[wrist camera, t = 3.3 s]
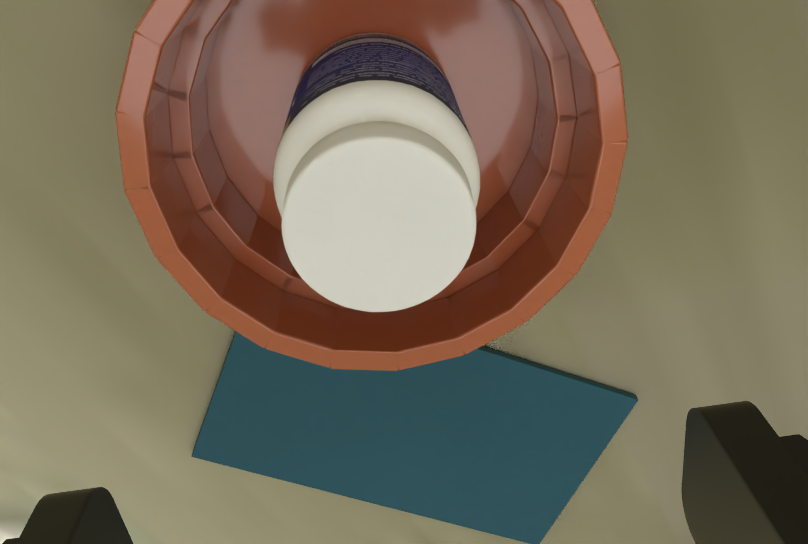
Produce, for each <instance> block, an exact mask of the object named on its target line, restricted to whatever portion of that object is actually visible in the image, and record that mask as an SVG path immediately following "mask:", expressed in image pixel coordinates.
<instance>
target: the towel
mask: <svg viewBox="0 0 808 544" xmlns="http://www.w3.org/2000/svg"><path fill="white" fill-rule="evenodd" d="M637 401H638V399H637V397H636V395H634V394H631V393H628V392H625V391H621V390H618V389H615V388H612V387H609V386H606V385H603V384H600V383H596V382H593V381H590V380H587V379H584V378H581V377H578V376H575V375H571V374H568V373H565V372H562V371H559V370H556V369H553V368H550V367H547V366H543V365H540V364H537V363H534V362H531V361H528V360H525V359H522V358H518V357H515V356H512V355H509V354H506V353H503V352H500V351H497V350H493V349H490V348H487V347H484V346H481V347H479V348H477V349H476V350H474V351H472V352H470V353H468V354H464V355H463V356H460V357H455V358H451V359H447V360H442V361H438V362H433V363H429V364H425V365H420V366H416V367H412V368H407V369H403V370H398V371H383V370H350V369H331V367H330V368H328V367H324V366H321V365H318V364H314V363H311V362H307V361H304V360H301V359H297V358H294V357H291V356H287V355H284V354H281V353H277V352H274V351H270V350H267V349H266V348H262V347H261V346H259V345H257V344H256V343H254V342H253V341H251V340H249V339H248V338H246V337H244V336H243V335H241V334H240V333H238V332H235V334H234V337H233V340H232V343H231V346H230V348H229V351H228V354H227V357H226V360H225V362H224V365H223V368H222V371H221V374H220V377H219V379H218V382H217V385H216V388H215V391H214V393H213V396H212V399H211V402H210V405H209V408H208V410H207V413H206V416H205V419H204V422H203V424H202V427H201V430H200V433H199V436H198V439H197V441H196V444H195V447H194V450H193V453H192V457H195V458H199V459H203V460H207V461H211V462H215V463H218V464H222V465H226V466H230V467H234V468H238V469H242V470H246V471H250V472H253V473H257V474H261V475H265V476H269V477H273V478H277V479H281V480H285V481H289V482H292V483H296V484H300V485H304V486H308V487H312V488H316V489H320V490H324V491H327V492H331V493H335V494H339V495H343V496H347V497H351V498H355V499H359V500H362V501H366V502H370V503H374V504H378V505H382V506H386V507H390V508H394V509H398V510H401V511H405V512H409V513H413V514H417V515H421V516H425V517H429V518H433V519H436V520H440V521H444V522H448V523H452V524H456V525H460V526H464V527H468V528H472V529H475V530H479V531H483V532H487V533H491V534H495V535H499V536H503V537H507V538H510V539H514V540H518V541H522V542H526V543H530V544H540V542H541V541H542V539H543V538H544V536H545V535H546V533H547V532H548V530H549V529H550V528H551V526H552V525H553V523H554V522H555V520H556V519H557V517H558V516H559V514H560V513H561V512H562V510H563V509H564V507H565V506H566V504H567V503H568V501H569V500H570V498H571V497H572V496H573V494H574V493H575V491H576V490H577V488H578V487H579V485H580V484H581V482H582V481H583V480H584V478H585V477H586V475H587V474H588V472H589V471H590V469H591V468H592V466H593V465H594V464H595V462H596V461H597V459H598V458H599V456H600V455H601V453H602V452H603V450H604V449H605V448H606V446H607V445H608V443H609V442H610V440H611V439H612V437H613V436H614V434H615V433H616V432H617V430H618V429H619V427H620V426H621V424H622V423H623V421H624V420H625V418H626V417H627V416H628V414H629V413H630V411H631V410H632V408H633V407H634V405H635V404H636V402H637Z"/></svg>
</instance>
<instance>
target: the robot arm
mask: <svg viewBox="0 0 808 544" xmlns="http://www.w3.org/2000/svg"><path fill="white" fill-rule="evenodd" d="M682 501H683V507H684V512H685V516H686V520H687V523H688V526H689V529H690V532H691V534H692V536H693V539H694V541H695V543H696V544H808V440H807V439H805V438H804V437H802V436H801V435H799V434H798V435H791V436H783V437H779V436H778V435H777V434H776V432H775V431H774V430H773V428H772V427H771V426H770V424H769V423H768V422H767V420H766V419H765V418H764V416H763V415H762V414H761V412H760V411H759V410H758V408H757V407H756V406H755V405H754V404H752V403H751V402H749V401H742V402H735V403H728V404H720V405H713V406H706V407H698V408H692V409H691V410H690V411H689V412H688V415H687V421H686V434H685V449H684V463H683V477H682ZM2 544H133V542H132V540H131V537H130V535H129V533H128V531H127V528H126V526H125V524H124V522H123V520H122V517H121V515H120V513H119V511H118V508H117V506H116V504H115V502H114V500H113V497H112V496H111V494H110V492H109V491H108V490H107V489H105V488H103V487H98V488H90V489H83V490H76V491H68V492H61V493H54V494H48V495H45V496H44V497H43V498H41V500H40V501H39V502H38V504H37V505H36V507H35V509H34V511H33V513H32V514H31V516H30V518H29V520H28V522H27V524H26V526H25V528H24V530H23V532H22V533H21V535H20V537H19V538H14V539H6V540H5V541H4V542H3V543H2Z"/></svg>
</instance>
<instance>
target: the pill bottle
mask: <svg viewBox="0 0 808 544" xmlns="http://www.w3.org/2000/svg"><path fill="white" fill-rule="evenodd" d="M273 184H274V193H275V199H276V203H277V206H278V209H279V212H280V215H281V218H282V225H281V227H282V237H283V242H284V246H285V249H286V252H287V255H288V257H289V259H290V261H291V263H292V265H293V266H294V268H295V270H296V271H297V273H298V274H299V275H300V276H301V278H302V279H303V280H304V281H305V282H306V283H307V284H308V285H309V286H310V287H311V288H312V289H313V290H315V291H316V292H317V293H319V294H320V295H322V296H323V297H325V298H326V299H328V300H330V301H332V302H334V303H337V304H339V305H341V306H344V307H347V308H351V309H355V310H360V311H367V312H390V311H397V310H402V309H406V308H409V307H412V306H415V305H418V304H420V303H422V302H424V301H426V300H428V299H430V298H432V297H434V296H435V295H437V294H438V293H439V292H441V291H442V290H443V289H444V288H446V287H447V286H448V285H449V284H450V283H451V282H452V281H453V280H454V279H455V278H456V277H457V275H458V274H459V273H460V272H461V270H462V269H463V267H464V266H465V264H466V262H467V260H468V259H469V256H470V253H471V251H472V248H473V245H474V240H475V235H476V206H477V202H478V197H479V192H480V170H479V163H478V159H477V154H476V151H475V148H474V145H473V142H472V138H471V136H470V133H469V131H468V128H467V126H466V124H465V122H464V119H463V117H462V114H461V112H460V109H459V106H458V104H457V101H456V98H455V96H454V93H453V90H452V88H451V86H450V83H449V81H448V79H447V77H446V75H445V73H444V72H443V70H442V69H441V67H440V66H439V65H438V64H437V62H436V61H435V60H434V59H433V58H432V57H431V56H430V55H429V54H428V53H427V52H426V51H424V50H423V49H422V48H420V47H419V46H417V45H416V44H414V43H412V42H410V41H408V40H406V39H404V38H401V37H398V36H395V35H390V34H384V33H363V34H357V35H353V36H349V37H346V38H344V39H341V40H339V41H337V42H335V43H333V44H331V45H330V46H328V47H327V48H325V49H324V50H323V51H322V52H320V53H319V54H318V55H317V56H316V57H315V58H314V59H313V61H312V62H311V63H310V64H309V66H308V67H307V68H306V70H305V71H304V73H303V75H302V77H301V79H300V81H299V83H298V85H297V88H296V90H295V93H294V96H293V100H292V103H291V106H290V110H289V113H288V116H287V119H286V123H285V126H284V129H283V132H282V136H281V139H280V142H279V146H278V149H277V153H276V158H275V164H274V175H273Z"/></svg>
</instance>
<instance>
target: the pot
mask: <svg viewBox="0 0 808 544" xmlns="http://www.w3.org/2000/svg"><path fill="white" fill-rule="evenodd" d="M363 33H384V34H390V35H395V36H398V37H401V38H404V39H406V40H408V41H410V42H412V43H414V44H416V45H417V46H419V47H420V48H422V49H423V50H424V51H426V52H427V53H428V54H429V55H430V56H431V57H432V58H433V59H434V60H435V61H436V62H437V64H438V65H439V66H440V67H441V69H442V70H443V72H444V73H445V75H446V77H447V79H448V81H449V83H450V86H451V88H452V90H453V93H454V96H455V98H456V101H457V104H458V106H459V109H460V112H461V114H462V117H463V119H464V122H465V124H466V126H467V128H468V131H469V133H470V136H471V138H472V142H473V145H474V148H475V151H476V154H477V159H478V163H479V170H480V192H479V197H478V202H477V206H476V235H475V240H474V245H473V248H472V251H471V253H470V256H469V259H468V260H467V262H466V264H465V266H464V267H463V269H462V270H461V272H460V273H459V274H458V275H457V277H456V278H455V279H454V280H453V281H452V282H451V283H450V284H449V285H448V286H447V287H446V288H444V289H443V290H442V291H441V292H439V293H438V294H437V295H435V296H434V297H432V298H430V299H428V300H426V301H424V302H422V303H420V304H418V305H415V306H412V307H409V308H406V309H402V310H397V311H390V312H367V311H360V310H355V309H351V308H347V307H344V306H341V305H339V304H337V303H334V302H332V301H330V300H328V299H326V298H325V297H323V296H322V295H320V294H319V293H317V292H316V291H315V290H313V289H312V288H311V287H310V286H309V285H308V284H307V283H306V282H305V281H304V280H303V279H302V278H301V276H300V275H299V274H298V273H297V271H296V270H295V268H294V266H293V265H292V263H291V261H290V259H289V257H288V255H287V252H286V249H285V246H284V242H283V237H282V227H281V225H282V218H281V215H280V212H279V209H278V206H277V203H276V199H275V193H274V184H273V175H274V164H275V158H276V153H277V149H278V146H279V142H280V139H281V136H282V132H283V129H284V126H285V123H286V119H287V116H288V113H289V110H290V106H291V103H292V100H293V96H294V93H295V90H296V88H297V85H298V83H299V81H300V79H301V77H302V75H303V73H304V71H305V70H306V68H307V67H308V66H309V64H310V63H311V62H312V61H313V59H314V58H315V57H316V56H317V55H318V54H319V53H320V52H322V51H323V50H324V49H325V48H327V47H328V46H330V45H331V44H333V43H335V42H337V41H339V40H341V39H344V38H346V37H349V36H353V35H357V34H363ZM115 115H116V123H117V132H118V141H119V149H120V158H121V167H122V176H123V184H124V189H125V193H126V195H127V197H128V200H129V202H130V204H131V206H132V208H133V210H134V213H135V215H136V217H137V219H138V221H139V223H140V225H141V228H142V230H143V232H144V234H145V236H146V238H147V240H148V243H149V245H150V247H151V249H152V251H153V253H154V256H155V257H156V258H157V260H158V261H159V262H160V263H161V264H162V265H163V266H164V267H165V269H166V270H167V271H168V272H169V273H170V274H171V275H172V276H173V277H174V279H175V280H176V281H177V282H178V283H179V284H180V285H181V286H182V287H183V289H184V290H185V291H186V292H187V293H188V294H189V295H190V296H191V297H192V298H193V300H194V301H195V302H196V303H197V304H198V305H199V306H200V307H201V308H202V310H204V311H206V313H207V314H209V315H211V316H212V317H214V318H215V319H217V320H219V321H220V322H222V323H224V324H225V325H227V326H228V327H230V328H232V329H233V330H235V331H236V332H238V333H240V334H241V335H243V336H244V337H246V338H248V339H249V340H251V341H253V342H254V343H256V344H257V345H259V346H261V347H262V348H266V349H267V350H270V351H274V352H277V353H281V354H284V355H287V356H291V357H294V358H297V359H301V360H304V361H307V362H311V363H314V364H318V365H321V366H324V367H328V368H330V367H331V369H350V370H383V371H398V370H403V369H407V368H412V367H416V366H420V365H425V364H429V363H433V362H438V361H442V360H447V359H451V358H455V357H460V356H463V355H464V354H468V353H470V352H472V351H474V350H476V349H477V348H479V347H481V346H483V345H485V344H487V343H489V342H491V341H492V340H494V339H496V338H498V337H500V336H502V335H504V334H506V333H508V332H509V331H511V330H513V329H515V328H517V327H519V326H521V325H523V324H524V322H527V321H528V320H529V319H530V318H531V317H532V316H533V315H534V314H536V313H537V312H538V311H539V310H540V309H541V308H542V307H543V306H544V305H545V304H546V303H547V302H548V301H549V300H550V299H551V298H552V297H553V296H555V295H556V294H557V293H558V292H559V291H560V290H561V289H562V288H563V287H564V286H565V285H566V284H567V283H568V282H569V281H570V280H571V279H572V278H574V276H575V275H577V273H578V271H579V270H580V268H581V266H582V265H583V263H584V261H585V259H586V258H587V256H588V254H589V253H590V251H591V249H592V247H593V246H594V244H595V242H596V241H597V239H598V237H599V235H600V234H601V232H602V230H603V229H604V227H605V225H606V223H607V222H608V220H609V218H610V217H611V212H612V210H613V205H614V201H615V197H616V192H617V188H618V183H619V179H620V175H621V170H622V166H623V162H624V157H625V153H626V148H627V144H628V143H627V140H628V132H627V121H626V111H625V100H624V90H623V80H622V69H621V65H620V59H619V57H618V55H617V53H616V50H615V48H614V46H613V44H612V42H611V40H610V37H609V35H608V33H607V31H606V29H605V27H604V24H603V22H602V20H601V18H600V16H599V14H598V11H597V9H596V7H595V5H594V3H593V1H592V0H153V1H152V3H151V4H150V6H149V8H148V9H147V11H146V12H145V14H144V15H143V17H142V18H141V20H140V21H139V23H138V24H137V26H136V27H135V31H134V32H133V35H132V40H131V44H130V48H129V53H128V57H127V61H126V66H125V70H124V75H123V79H122V83H121V88H120V92H119V96H118V101H117V105H116V113H115Z"/></svg>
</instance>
